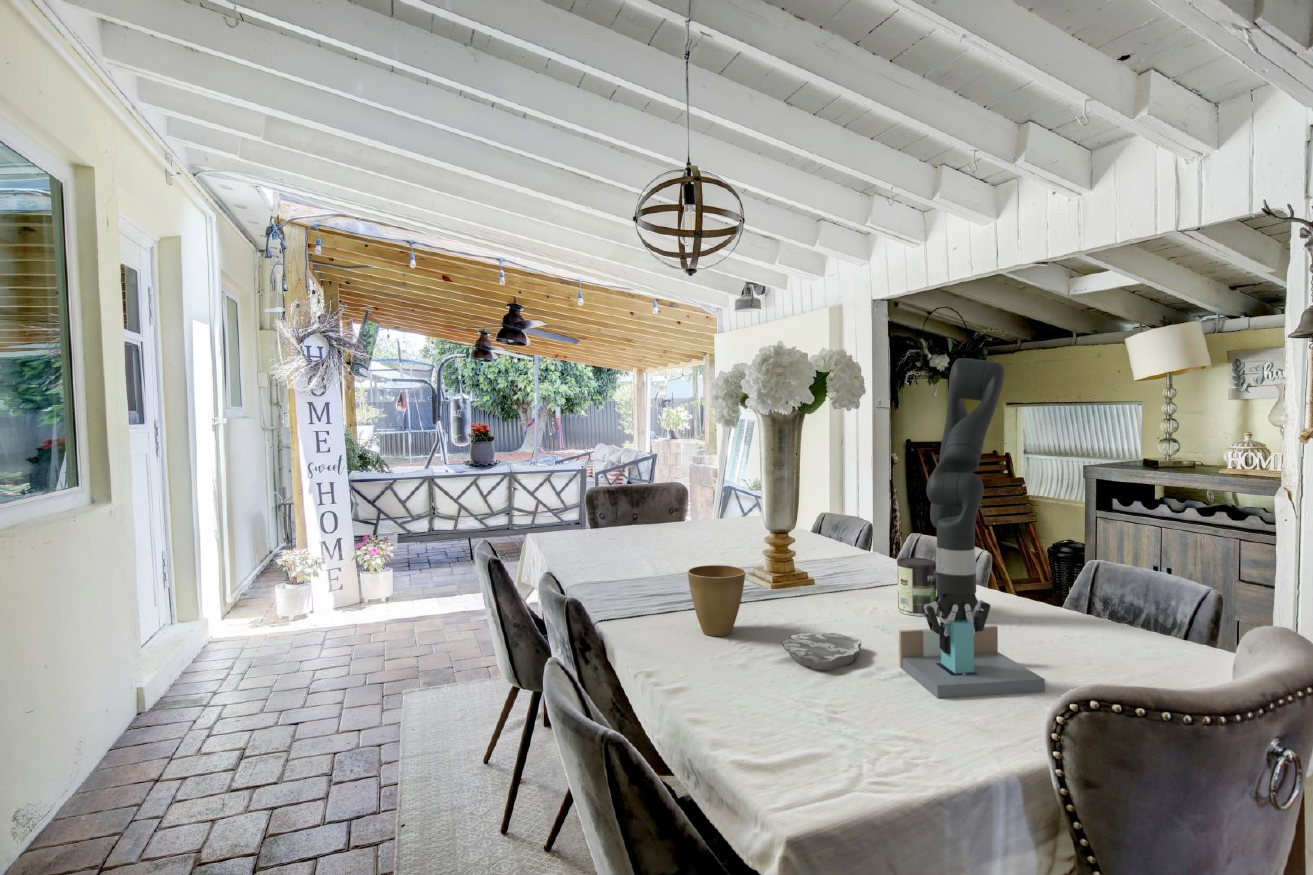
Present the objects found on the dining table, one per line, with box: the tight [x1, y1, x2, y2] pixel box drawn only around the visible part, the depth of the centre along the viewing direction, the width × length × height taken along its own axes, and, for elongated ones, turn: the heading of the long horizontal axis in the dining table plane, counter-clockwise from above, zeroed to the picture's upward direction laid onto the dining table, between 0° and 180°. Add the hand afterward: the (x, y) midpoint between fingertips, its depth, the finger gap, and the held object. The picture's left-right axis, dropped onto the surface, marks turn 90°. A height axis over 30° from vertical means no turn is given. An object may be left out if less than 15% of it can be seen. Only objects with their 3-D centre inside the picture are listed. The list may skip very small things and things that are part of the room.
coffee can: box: [896, 557, 937, 617], centre depth 186 cm, size 10×10×14 cm
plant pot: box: [687, 564, 746, 637], centre depth 172 cm, size 15×15×16 cm
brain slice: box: [780, 632, 862, 672], centre depth 153 cm, size 20×17×3 cm
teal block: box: [941, 618, 974, 673], centre depth 137 cm, size 6×4×10 cm
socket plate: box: [898, 625, 1046, 699], centre depth 138 cm, size 16×22×8 cm
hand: (956, 651), depth 137 cm, fingers closed on teal block, 4 cm apart
